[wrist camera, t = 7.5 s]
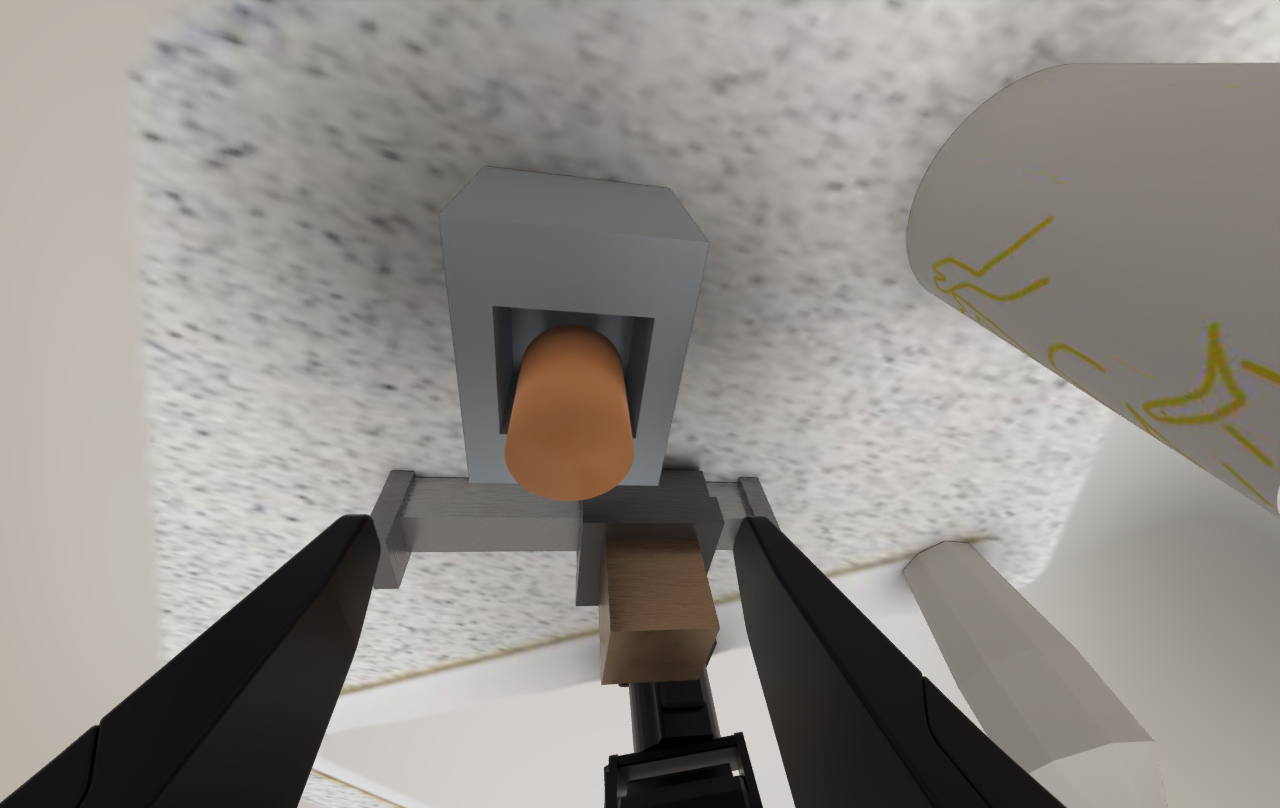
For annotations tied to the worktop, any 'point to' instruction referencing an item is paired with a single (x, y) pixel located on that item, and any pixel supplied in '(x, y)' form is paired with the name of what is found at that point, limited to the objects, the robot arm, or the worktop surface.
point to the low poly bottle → (1033, 686)
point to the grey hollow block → (568, 296)
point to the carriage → (651, 577)
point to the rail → (505, 518)
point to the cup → (1127, 246)
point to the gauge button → (570, 416)
